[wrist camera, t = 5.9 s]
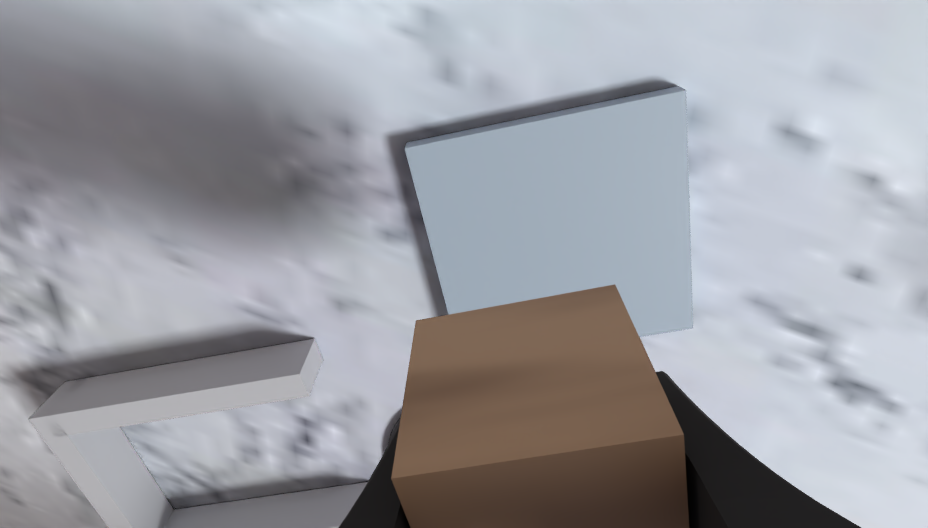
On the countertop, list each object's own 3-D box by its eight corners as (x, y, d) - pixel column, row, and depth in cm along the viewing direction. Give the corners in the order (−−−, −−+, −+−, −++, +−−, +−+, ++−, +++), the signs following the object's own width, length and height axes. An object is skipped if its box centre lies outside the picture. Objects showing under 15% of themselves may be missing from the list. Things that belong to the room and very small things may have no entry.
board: (686, 317, 25) (693, 328, 24) (462, 354, 26) (461, 365, 25) (678, 85, 20) (686, 90, 19) (406, 142, 21) (404, 148, 20)
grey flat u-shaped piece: (378, 497, 30) (371, 538, 28) (163, 527, 31) (139, 569, 29) (314, 338, 25) (299, 373, 23) (64, 381, 27) (27, 419, 24)
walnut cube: (632, 434, 16) (694, 614, 12) (459, 461, 17) (455, 641, 12) (615, 284, 14) (684, 434, 9) (416, 320, 14) (391, 478, 10)
